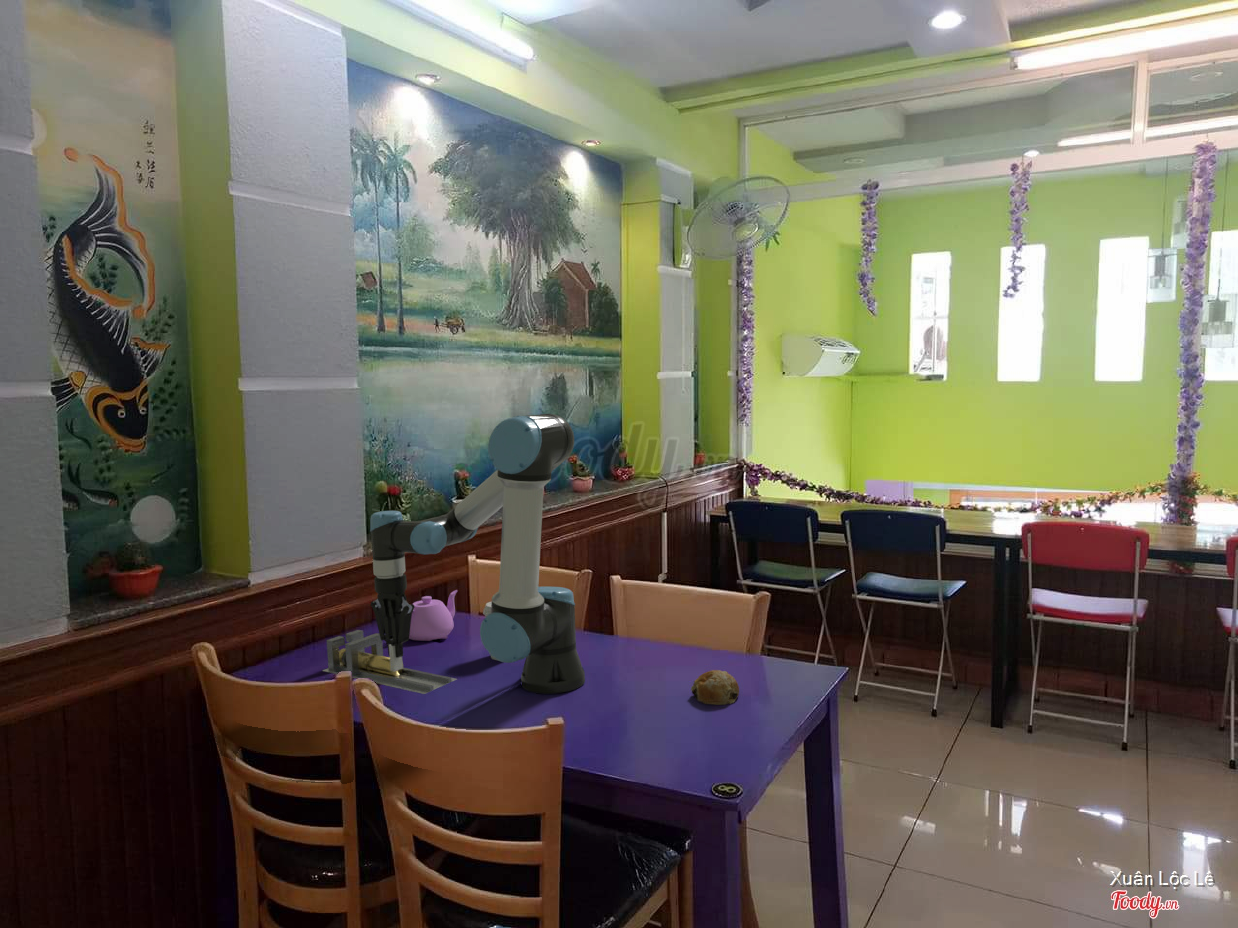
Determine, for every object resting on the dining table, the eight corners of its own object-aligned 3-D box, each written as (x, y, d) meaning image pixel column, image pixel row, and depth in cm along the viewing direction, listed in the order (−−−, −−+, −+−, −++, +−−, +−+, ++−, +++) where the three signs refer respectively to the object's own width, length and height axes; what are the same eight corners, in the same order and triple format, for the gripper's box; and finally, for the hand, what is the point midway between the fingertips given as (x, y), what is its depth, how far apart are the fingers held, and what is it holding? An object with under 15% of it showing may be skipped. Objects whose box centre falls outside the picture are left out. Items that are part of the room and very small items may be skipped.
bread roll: (719, 724, 186) (732, 694, 184) (680, 697, 191) (693, 668, 188) (738, 708, 195) (751, 679, 192) (700, 683, 199) (713, 654, 197)
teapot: (445, 625, 258) (443, 585, 257) (475, 633, 249) (472, 592, 247) (387, 642, 243) (384, 600, 242) (416, 651, 234) (413, 607, 233)
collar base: (457, 682, 208) (455, 646, 207) (424, 698, 198) (422, 660, 198) (356, 661, 227) (354, 628, 226) (322, 674, 218) (319, 639, 217)
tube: (401, 676, 213) (404, 659, 214) (389, 675, 210) (392, 658, 210) (347, 664, 224) (350, 648, 224) (335, 663, 220) (338, 647, 221)
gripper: (420, 573, 208) (426, 668, 210) (383, 569, 215) (390, 661, 217) (397, 580, 202) (404, 678, 204) (359, 575, 209) (366, 670, 211)
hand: (396, 669), depth 211 cm, fingers closed
